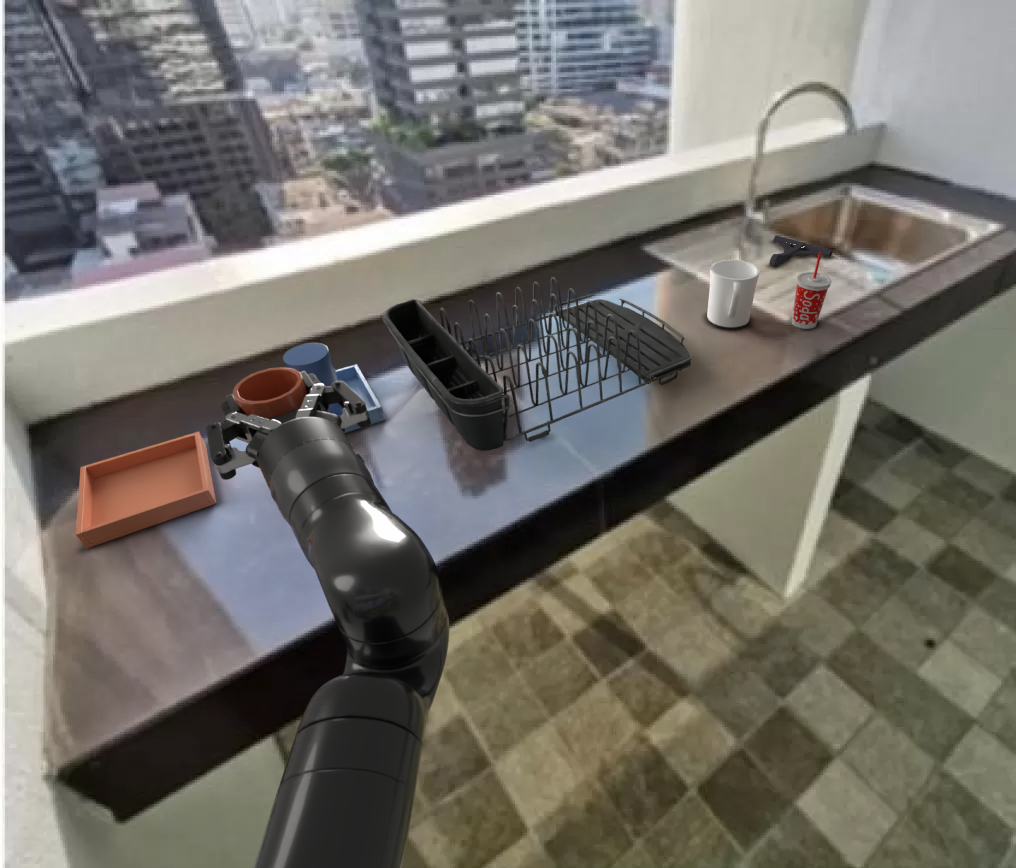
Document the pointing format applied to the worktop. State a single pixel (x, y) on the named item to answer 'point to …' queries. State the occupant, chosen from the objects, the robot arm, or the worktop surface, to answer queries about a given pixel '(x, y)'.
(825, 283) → the beverage cup
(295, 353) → the blue upright cylinder
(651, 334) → the dish rack
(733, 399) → the worktop surface
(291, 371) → the terracotta cup
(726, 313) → the mug
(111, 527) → the terracotta tray
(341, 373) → the blue tray
